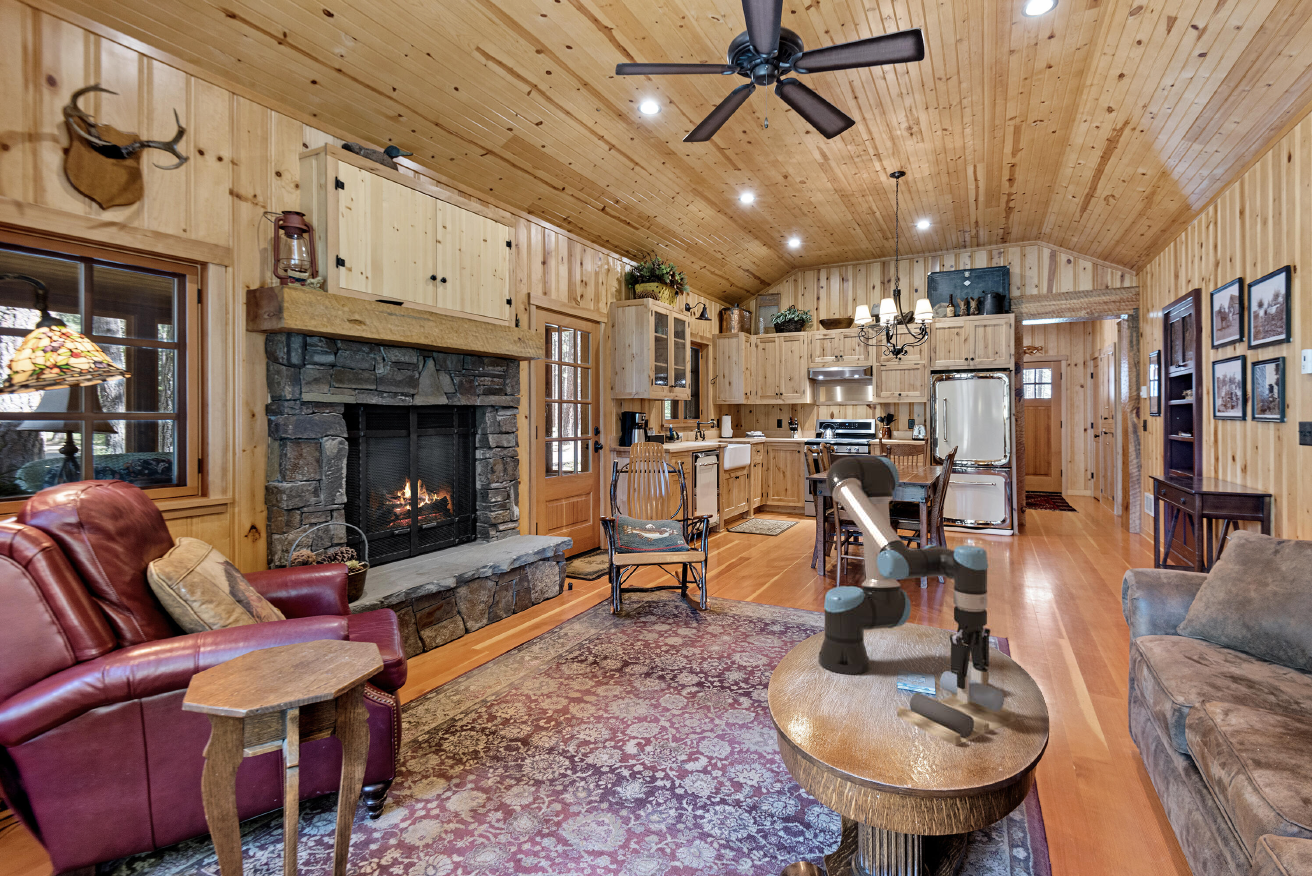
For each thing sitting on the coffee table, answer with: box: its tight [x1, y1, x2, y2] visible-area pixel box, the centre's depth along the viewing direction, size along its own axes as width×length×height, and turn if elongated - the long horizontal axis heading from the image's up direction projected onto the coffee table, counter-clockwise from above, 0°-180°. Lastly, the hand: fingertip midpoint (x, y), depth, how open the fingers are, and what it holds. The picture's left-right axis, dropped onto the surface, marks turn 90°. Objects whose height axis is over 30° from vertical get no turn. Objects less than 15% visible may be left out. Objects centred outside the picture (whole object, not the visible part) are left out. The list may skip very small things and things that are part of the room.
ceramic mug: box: [949, 660, 990, 686], centre depth 170 cm, size 11×8×8 cm
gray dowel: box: [939, 670, 1005, 711], centre depth 152 cm, size 14×5×5 cm, turn 29°
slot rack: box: [896, 693, 1016, 747], centre depth 150 cm, size 16×24×3 cm, turn 119°
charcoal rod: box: [909, 692, 974, 737], centre depth 147 cm, size 14×5×5 cm
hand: (969, 697), depth 152 cm, fingers closed on gray dowel, 5 cm apart
